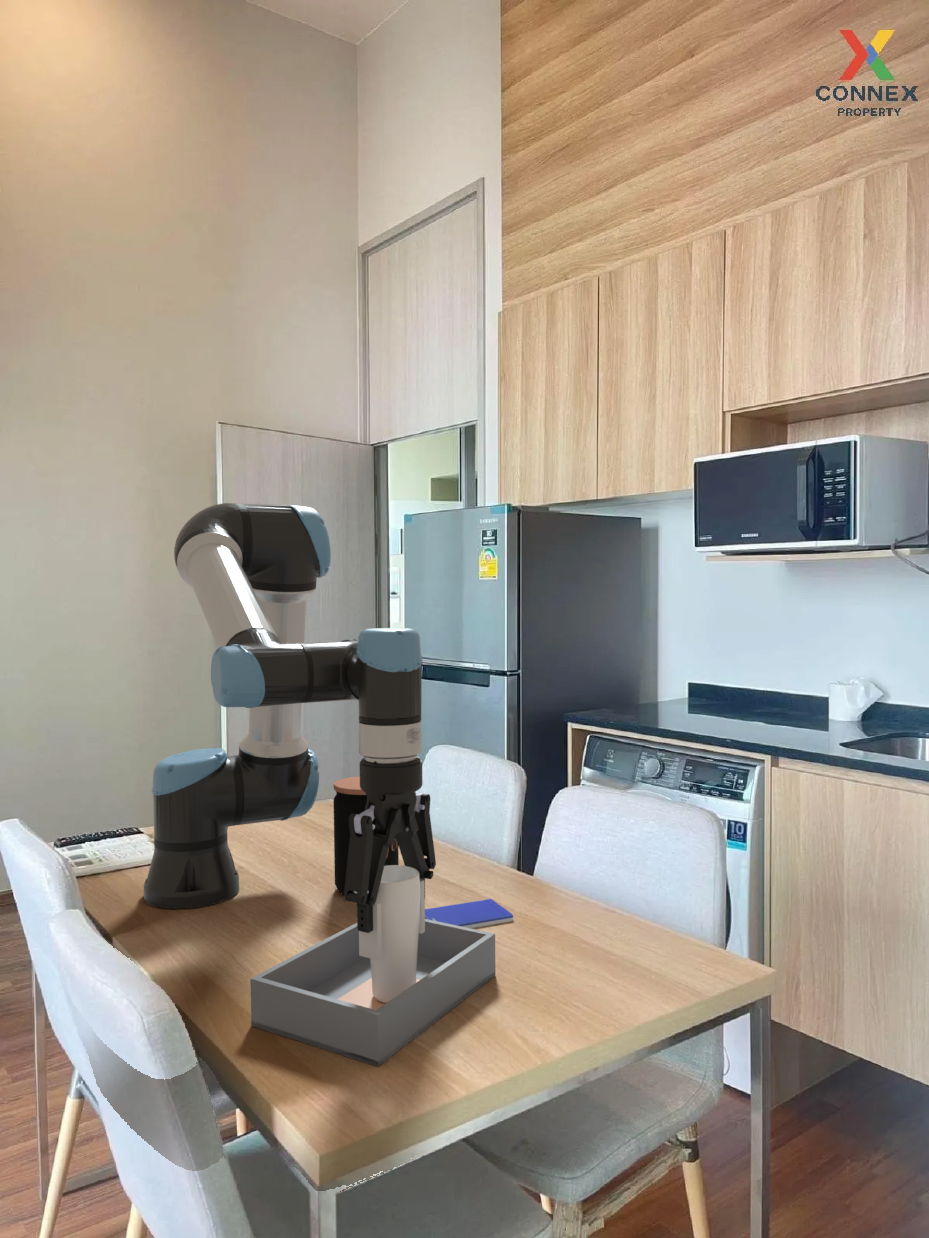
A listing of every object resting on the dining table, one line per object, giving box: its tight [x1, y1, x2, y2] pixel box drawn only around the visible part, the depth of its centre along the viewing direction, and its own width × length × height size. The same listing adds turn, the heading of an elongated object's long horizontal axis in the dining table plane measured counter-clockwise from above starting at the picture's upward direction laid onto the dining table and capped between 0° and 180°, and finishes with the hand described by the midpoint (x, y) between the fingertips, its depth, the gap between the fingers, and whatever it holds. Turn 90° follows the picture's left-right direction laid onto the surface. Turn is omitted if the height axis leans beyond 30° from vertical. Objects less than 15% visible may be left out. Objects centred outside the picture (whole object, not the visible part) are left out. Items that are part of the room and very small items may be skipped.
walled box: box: [250, 919, 496, 1068], centre depth 110 cm, size 18×26×6 cm
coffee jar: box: [332, 775, 400, 896], centre depth 151 cm, size 11×11×18 cm
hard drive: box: [425, 898, 514, 929], centre depth 137 cm, size 2×8×12 cm
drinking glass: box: [368, 864, 421, 1003], centre depth 109 cm, size 7×7×15 cm
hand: (393, 943), depth 109 cm, fingers open, 8 cm apart
